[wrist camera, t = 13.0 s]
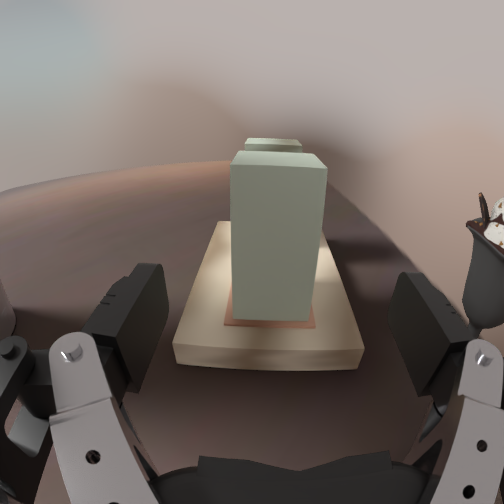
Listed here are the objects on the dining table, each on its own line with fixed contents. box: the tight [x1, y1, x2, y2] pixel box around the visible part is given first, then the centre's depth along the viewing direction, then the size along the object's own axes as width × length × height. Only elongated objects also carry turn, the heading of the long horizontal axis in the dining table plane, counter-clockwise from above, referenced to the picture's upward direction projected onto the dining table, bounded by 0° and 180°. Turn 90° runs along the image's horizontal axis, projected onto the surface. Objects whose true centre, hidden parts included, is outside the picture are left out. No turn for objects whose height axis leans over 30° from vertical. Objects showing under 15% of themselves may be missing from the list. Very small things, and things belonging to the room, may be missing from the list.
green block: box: [230, 151, 328, 321], centre depth 19 cm, size 5×5×10 cm
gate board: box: [172, 138, 365, 371], centre depth 24 cm, size 12×20×12 cm, turn 177°
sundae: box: [462, 193, 504, 339], centre depth 14 cm, size 7×7×15 cm
